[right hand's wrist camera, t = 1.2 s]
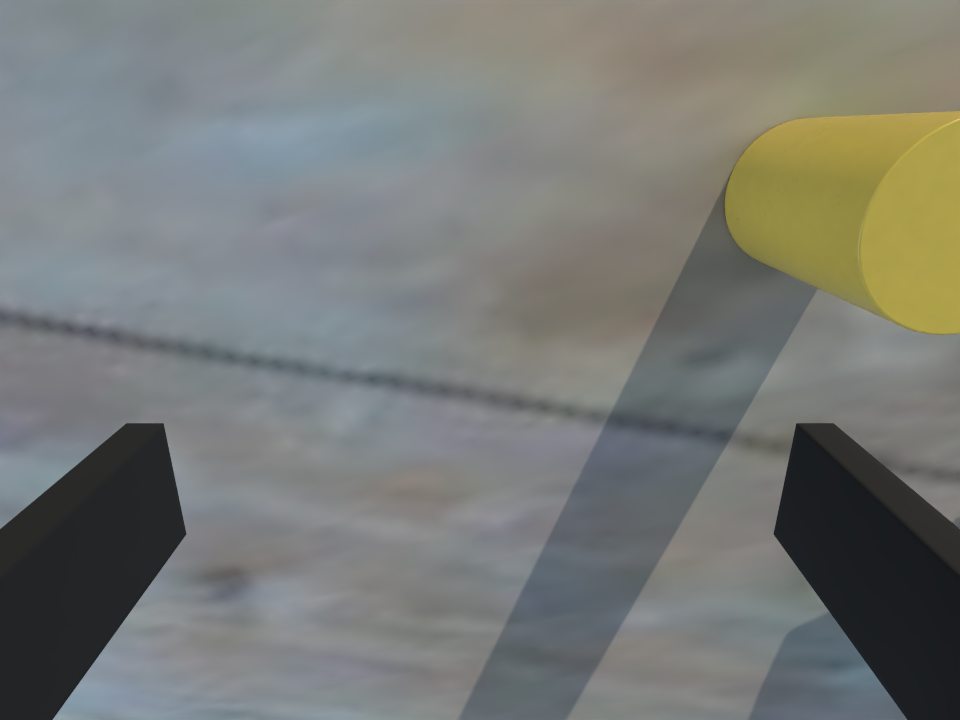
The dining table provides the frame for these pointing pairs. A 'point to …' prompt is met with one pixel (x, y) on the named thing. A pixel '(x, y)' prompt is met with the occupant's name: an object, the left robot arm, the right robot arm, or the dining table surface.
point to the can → (859, 211)
